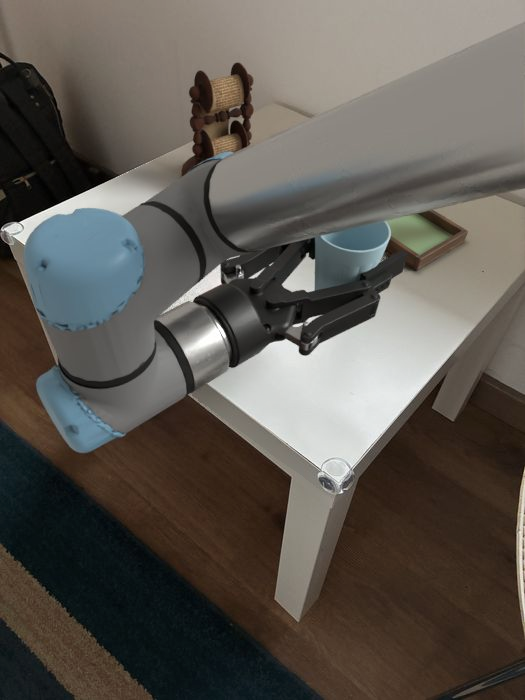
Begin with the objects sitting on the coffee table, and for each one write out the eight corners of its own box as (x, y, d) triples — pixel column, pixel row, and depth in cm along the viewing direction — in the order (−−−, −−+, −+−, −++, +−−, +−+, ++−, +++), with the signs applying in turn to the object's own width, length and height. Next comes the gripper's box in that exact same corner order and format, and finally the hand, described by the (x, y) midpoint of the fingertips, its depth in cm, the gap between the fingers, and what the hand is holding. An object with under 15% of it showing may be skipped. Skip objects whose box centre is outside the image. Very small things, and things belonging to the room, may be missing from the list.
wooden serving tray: (464, 242, 89) (468, 231, 87) (416, 271, 84) (420, 259, 82) (408, 207, 95) (411, 196, 93) (360, 232, 90) (363, 221, 88)
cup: (326, 270, 66) (339, 196, 58) (382, 297, 63) (403, 224, 55) (292, 304, 62) (301, 230, 54) (350, 335, 59) (368, 261, 51)
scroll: (236, 155, 104) (237, 43, 89) (279, 192, 96) (288, 76, 81) (167, 175, 98) (156, 59, 83) (207, 216, 91) (203, 96, 75)
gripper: (157, 305, 58) (313, 228, 68) (276, 428, 48) (437, 317, 58) (148, 249, 52) (320, 174, 62) (281, 376, 42) (459, 263, 53)
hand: (376, 243), depth 60 cm, fingers closed on cup, 7 cm apart
